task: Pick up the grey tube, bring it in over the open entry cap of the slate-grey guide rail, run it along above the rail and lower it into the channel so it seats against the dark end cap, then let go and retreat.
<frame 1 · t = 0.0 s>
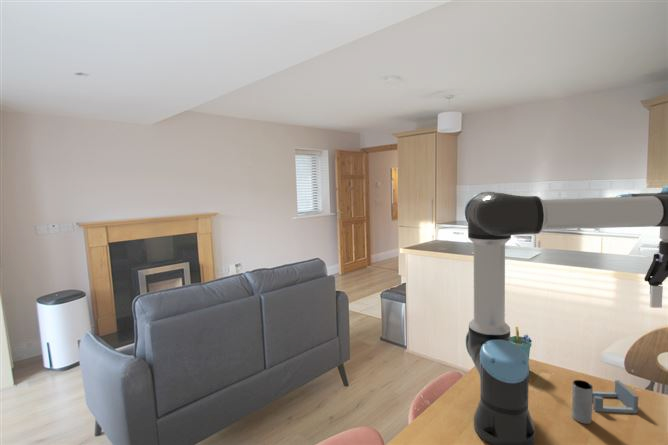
grey tube: (581, 419, 100), on the table
cup: (520, 370, 126), on the table
endcap rail: (607, 403, 106), on the table
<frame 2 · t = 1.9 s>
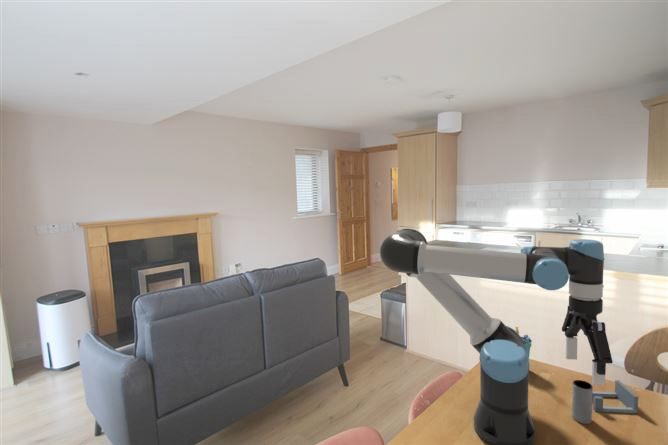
hand: (584, 370, 98), 14 cm above the table, fingers open, 13 cm apart
nothing on the table moved.
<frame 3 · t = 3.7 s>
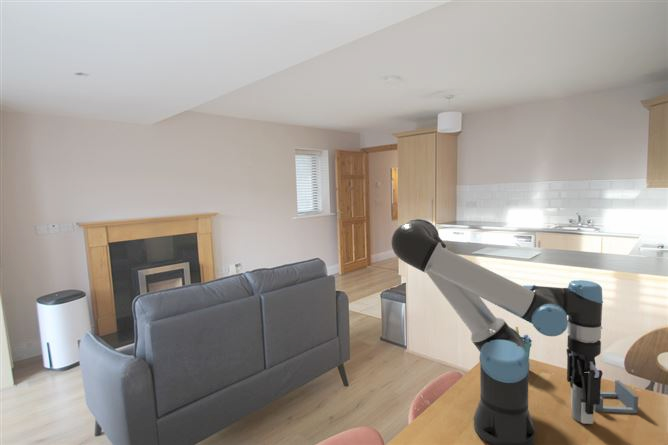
hand: (581, 416, 100), 1 cm above the table, fingers closed on grey tube, 5 cm apart
grey tube: (581, 419, 100), on the table, touching gripper
everything else where it was.
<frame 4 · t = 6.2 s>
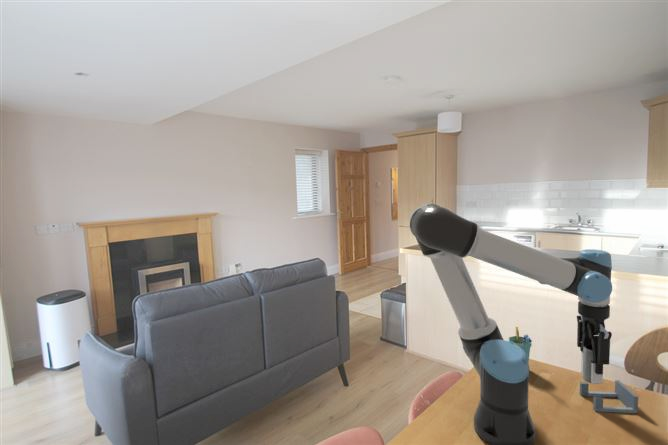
hand: (591, 377, 106), 8 cm above the table, fingers closed on grey tube, 4 cm apart
grey tube: (591, 380, 106), point 7 cm above the table, touching gripper
everything else where it was.
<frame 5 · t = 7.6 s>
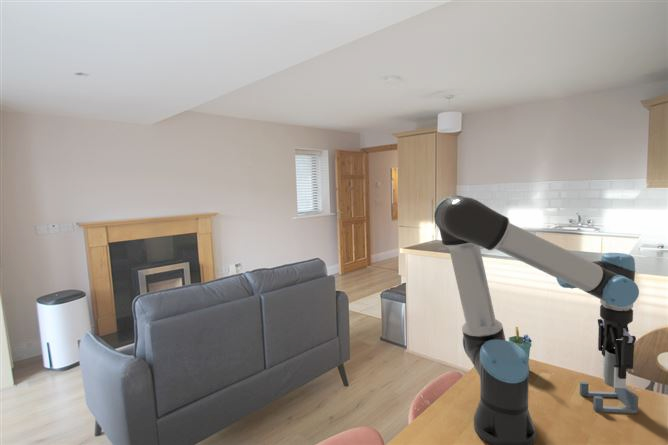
hand: (613, 382, 105), 7 cm above the table, fingers closed on grey tube, 4 cm apart
grey tube: (613, 384, 105), point 6 cm above the table, touching gripper
everything else where it was.
when the fingers open (2 cm above the table, at t = 8.7 s): grey tube drops 1 cm, resting in endcap rail.
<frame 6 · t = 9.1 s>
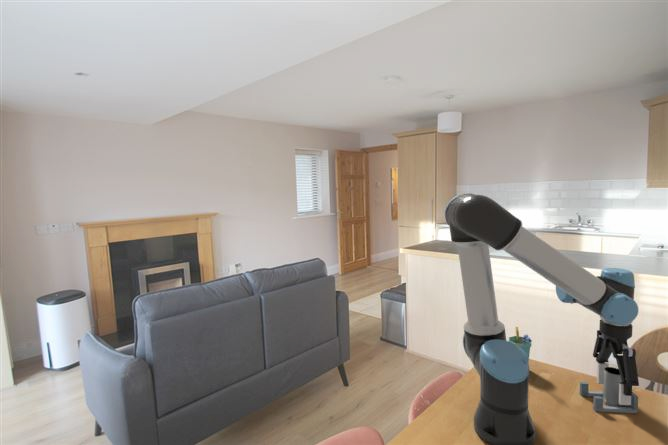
hand: (613, 393, 105), 3 cm above the table, fingers open, 10 cm apart
grey tube: (612, 403, 106), resting in endcap rail
everything else where it was.
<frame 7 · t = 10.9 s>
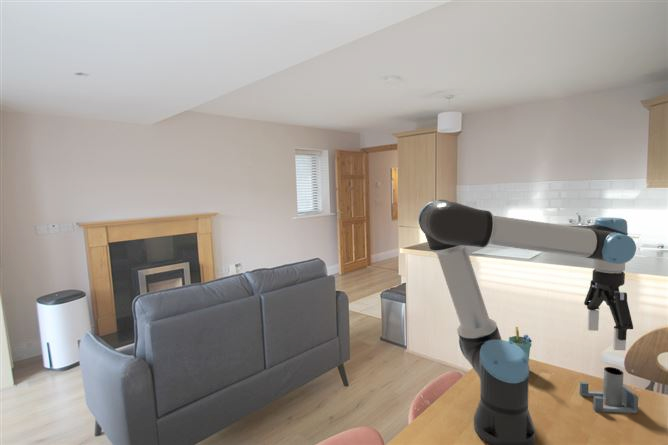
hand: (605, 339, 106), 19 cm above the table, fingers open, 13 cm apart
nothing on the table moved.
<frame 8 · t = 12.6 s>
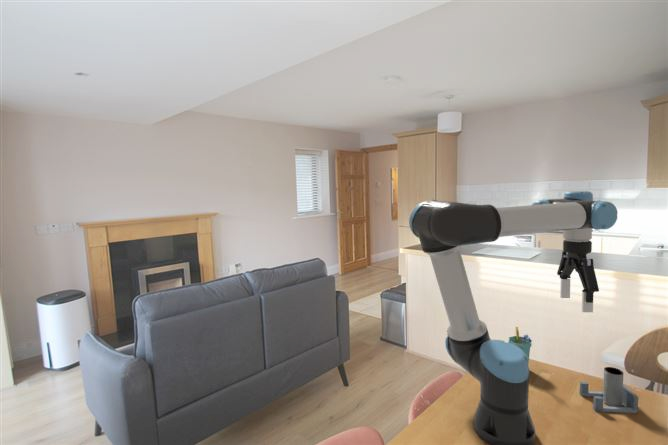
hand: (575, 304, 115), 27 cm above the table, fingers open, 13 cm apart
nothing on the table moved.
at the end: grey tube 0.3 cm from the target spot, resting in endcap rail; grey tube tilted 0°; the gripper is holding nothing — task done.
